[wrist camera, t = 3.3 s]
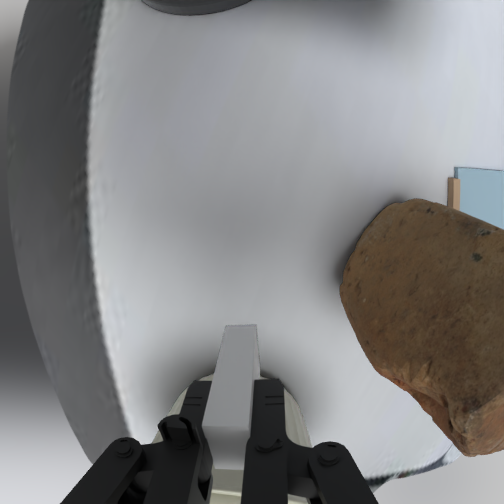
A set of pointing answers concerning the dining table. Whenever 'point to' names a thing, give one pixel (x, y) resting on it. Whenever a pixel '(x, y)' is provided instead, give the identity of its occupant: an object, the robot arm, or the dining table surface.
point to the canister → (230, 481)
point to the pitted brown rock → (434, 315)
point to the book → (478, 194)
